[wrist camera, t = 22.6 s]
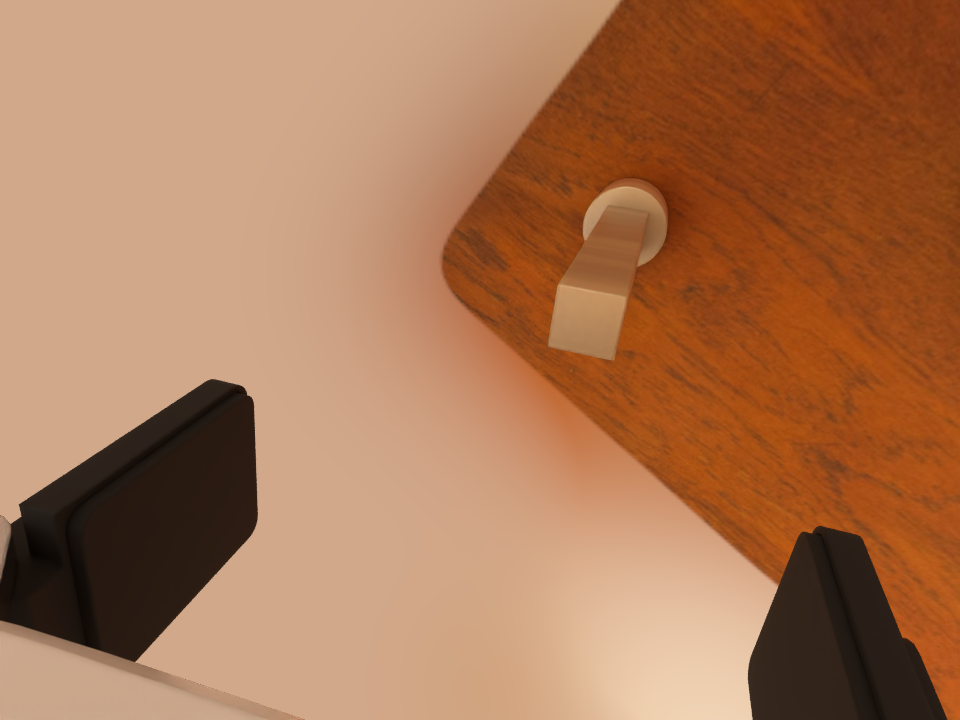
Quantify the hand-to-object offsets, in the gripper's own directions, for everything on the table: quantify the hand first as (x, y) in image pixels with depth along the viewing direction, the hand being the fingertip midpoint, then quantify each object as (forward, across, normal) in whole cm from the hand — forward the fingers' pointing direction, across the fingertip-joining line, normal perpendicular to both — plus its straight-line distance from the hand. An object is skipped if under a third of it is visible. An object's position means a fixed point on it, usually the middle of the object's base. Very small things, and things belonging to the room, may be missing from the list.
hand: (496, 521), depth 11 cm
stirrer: (+23, -1, -1) cm, 23 cm away
